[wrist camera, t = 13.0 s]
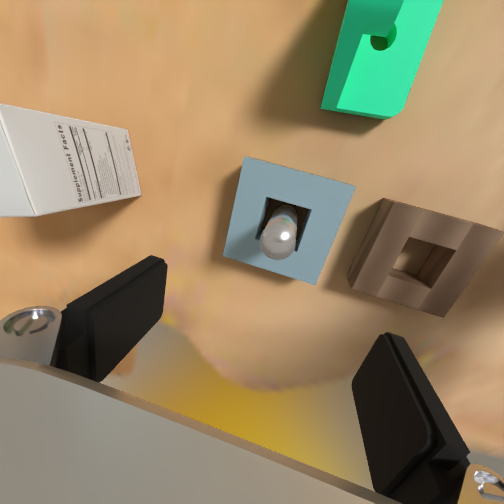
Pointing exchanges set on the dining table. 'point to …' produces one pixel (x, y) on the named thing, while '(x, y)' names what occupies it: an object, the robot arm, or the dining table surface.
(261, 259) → the socket block
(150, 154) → the dining table surface
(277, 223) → the steel pin
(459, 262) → the walnut mount block
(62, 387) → the robot arm
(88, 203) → the supplement box
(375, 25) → the camera mount
